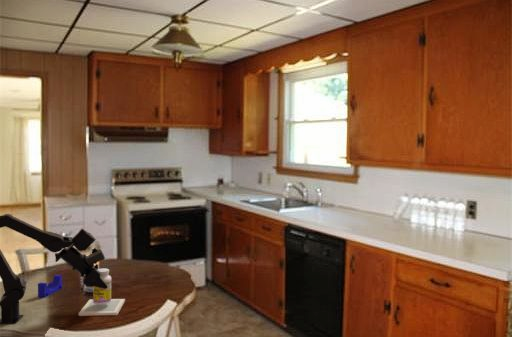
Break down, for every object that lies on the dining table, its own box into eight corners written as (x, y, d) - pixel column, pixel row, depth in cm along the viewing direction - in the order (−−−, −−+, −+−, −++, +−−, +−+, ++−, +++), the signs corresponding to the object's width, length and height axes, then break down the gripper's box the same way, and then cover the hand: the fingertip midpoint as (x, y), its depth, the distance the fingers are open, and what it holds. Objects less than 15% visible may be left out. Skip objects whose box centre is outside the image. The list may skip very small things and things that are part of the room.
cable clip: (52, 287, 191) (52, 274, 190) (62, 288, 190) (62, 275, 190) (34, 297, 179) (34, 283, 178) (44, 298, 178) (44, 284, 178)
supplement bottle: (89, 303, 166) (89, 271, 165) (100, 298, 172) (100, 266, 171) (103, 306, 164) (104, 273, 163) (114, 300, 170) (115, 268, 169)
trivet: (116, 315, 162) (116, 312, 162) (78, 315, 161) (78, 312, 161) (124, 301, 176) (124, 298, 176) (89, 301, 175) (89, 299, 174)
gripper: (93, 249, 156) (124, 276, 162) (90, 238, 174) (118, 263, 179) (69, 272, 154) (101, 299, 159) (69, 259, 171) (98, 283, 176)
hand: (105, 285), depth 168 cm, fingers closed on supplement bottle, 7 cm apart
